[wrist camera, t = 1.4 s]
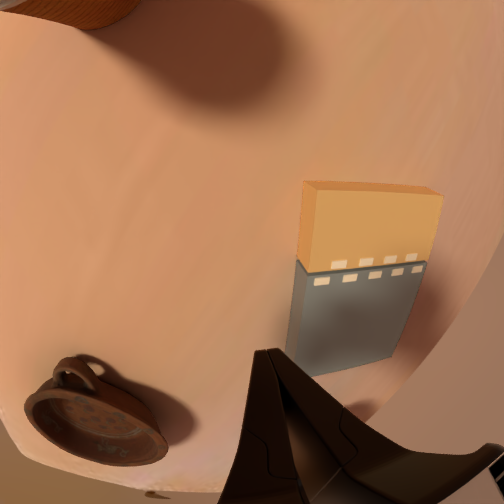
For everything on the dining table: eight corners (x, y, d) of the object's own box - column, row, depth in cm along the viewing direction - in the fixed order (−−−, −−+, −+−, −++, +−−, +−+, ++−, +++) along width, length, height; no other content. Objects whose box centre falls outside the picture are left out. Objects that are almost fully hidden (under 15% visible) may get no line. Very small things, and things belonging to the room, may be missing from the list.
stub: (412, 247, 25) (428, 260, 22) (296, 256, 23) (308, 273, 20) (425, 187, 22) (444, 196, 20) (303, 180, 20) (318, 190, 18)
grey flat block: (381, 342, 30) (391, 357, 28) (283, 362, 28) (290, 381, 26) (411, 250, 25) (428, 263, 23) (296, 259, 23) (307, 277, 20)
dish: (162, 354, 25) (160, 396, 21) (171, 448, 35) (173, 476, 30) (8, 333, 21) (-9, 367, 17) (64, 434, 30) (60, 460, 26)
